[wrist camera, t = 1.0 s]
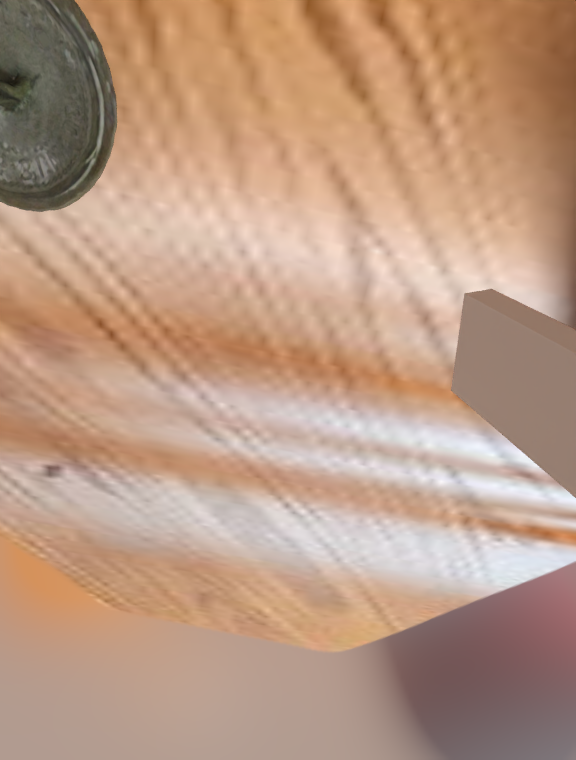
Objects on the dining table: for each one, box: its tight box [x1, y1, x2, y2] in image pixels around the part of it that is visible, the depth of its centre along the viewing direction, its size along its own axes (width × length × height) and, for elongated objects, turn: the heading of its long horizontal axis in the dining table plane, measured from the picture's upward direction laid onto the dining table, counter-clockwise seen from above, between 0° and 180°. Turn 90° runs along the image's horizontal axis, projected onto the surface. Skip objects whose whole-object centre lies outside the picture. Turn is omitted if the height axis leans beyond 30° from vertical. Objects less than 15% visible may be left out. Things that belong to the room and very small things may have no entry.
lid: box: [0, 0, 117, 212], centre depth 22 cm, size 11×10×5 cm
